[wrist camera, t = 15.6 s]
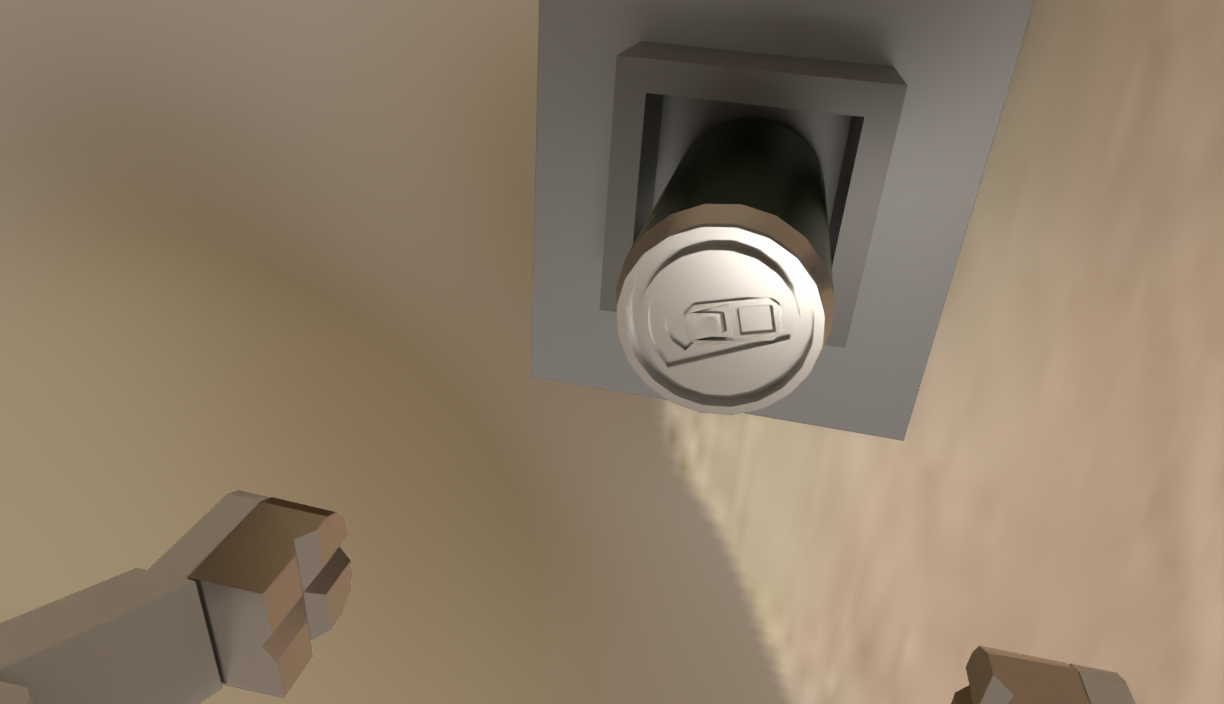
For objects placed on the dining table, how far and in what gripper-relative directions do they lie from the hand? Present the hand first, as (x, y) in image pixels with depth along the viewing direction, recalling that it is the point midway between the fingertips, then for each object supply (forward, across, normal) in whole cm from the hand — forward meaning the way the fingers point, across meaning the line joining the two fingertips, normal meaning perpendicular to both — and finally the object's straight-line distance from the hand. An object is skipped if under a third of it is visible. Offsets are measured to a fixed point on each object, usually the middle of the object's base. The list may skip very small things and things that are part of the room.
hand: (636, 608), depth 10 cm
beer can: (+22, 0, +1) cm, 22 cm away
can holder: (+23, 0, 0) cm, 23 cm away
